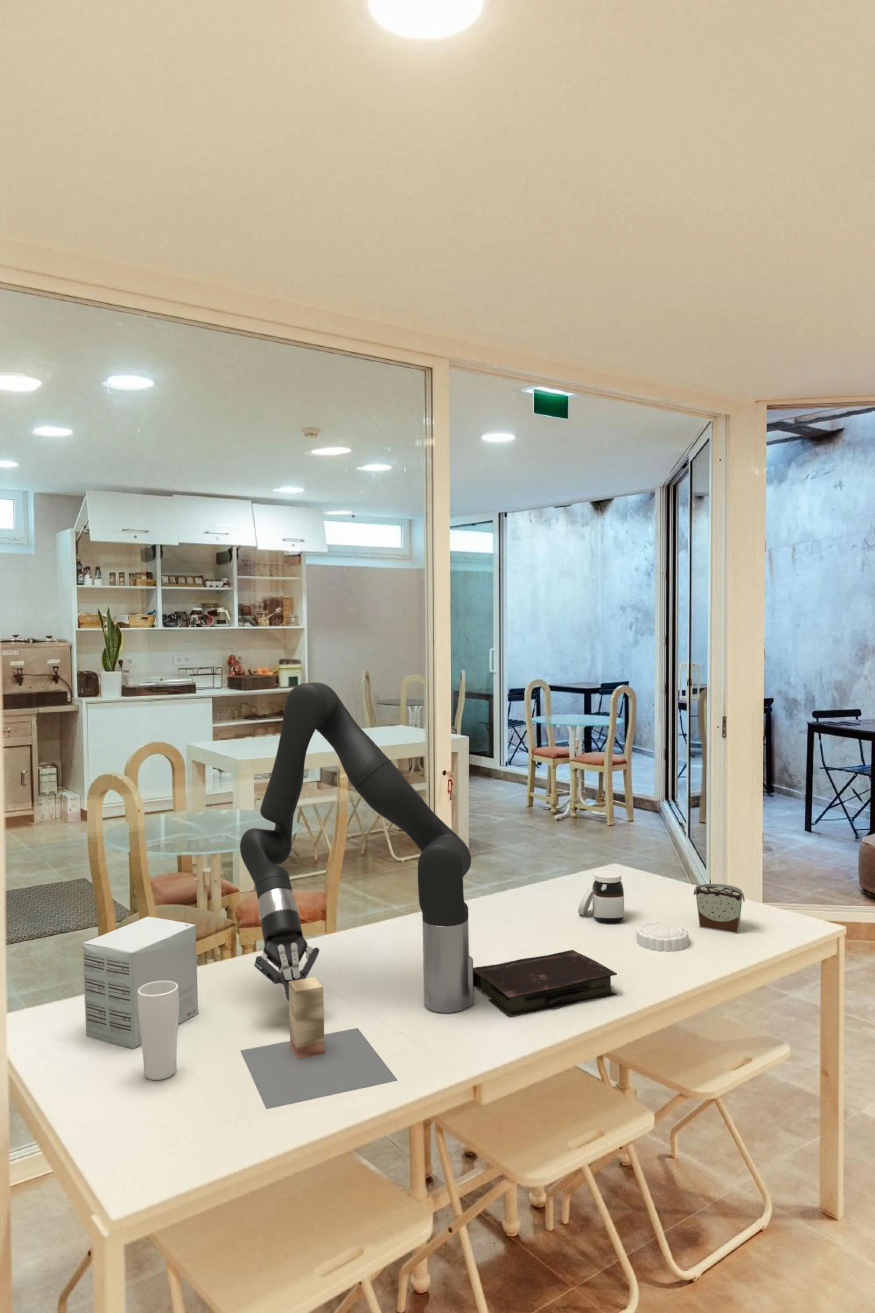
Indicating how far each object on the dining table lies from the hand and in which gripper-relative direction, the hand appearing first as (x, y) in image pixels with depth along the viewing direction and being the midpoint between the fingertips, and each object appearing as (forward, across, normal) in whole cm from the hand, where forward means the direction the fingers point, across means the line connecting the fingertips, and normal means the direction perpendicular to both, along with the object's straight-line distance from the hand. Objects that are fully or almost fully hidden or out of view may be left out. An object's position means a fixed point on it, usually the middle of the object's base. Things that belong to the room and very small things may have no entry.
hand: (295, 1001), depth 173 cm
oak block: (+10, 0, -1) cm, 10 cm away
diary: (+6, +52, +4) cm, 52 cm away
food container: (-6, +111, +15) cm, 112 cm away
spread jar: (-20, +88, +29) cm, 95 cm away
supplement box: (-7, -26, +17) cm, 32 cm away
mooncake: (-4, +91, +13) cm, 92 cm away
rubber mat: (+14, 0, -5) cm, 15 cm away
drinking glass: (+8, -25, +1) cm, 26 cm away
